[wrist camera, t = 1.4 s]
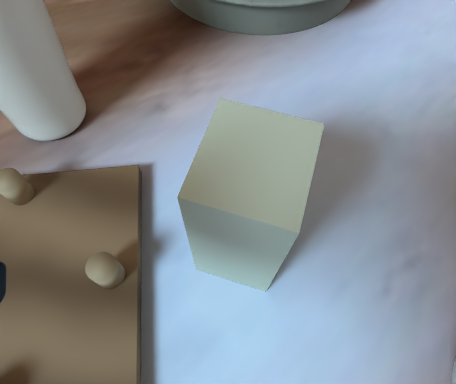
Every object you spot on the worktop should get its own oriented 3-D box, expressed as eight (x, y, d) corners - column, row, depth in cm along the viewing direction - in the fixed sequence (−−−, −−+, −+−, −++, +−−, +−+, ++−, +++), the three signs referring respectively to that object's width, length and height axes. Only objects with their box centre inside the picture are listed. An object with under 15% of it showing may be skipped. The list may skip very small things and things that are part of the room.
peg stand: (140, 422, 17) (125, 432, 15) (-174, 465, 16) (-252, 485, 14) (141, 172, 24) (131, 148, 22) (-80, 192, 23) (-118, 169, 20)
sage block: (265, 291, 20) (299, 232, 12) (195, 269, 21) (177, 196, 12) (284, 219, 23) (324, 123, 14) (220, 200, 23) (220, 97, 14)
